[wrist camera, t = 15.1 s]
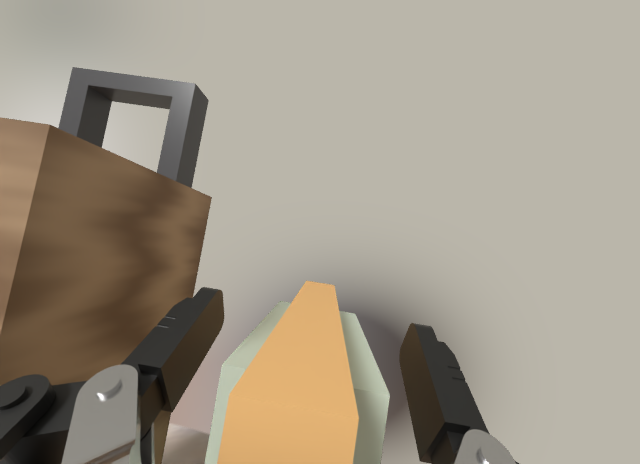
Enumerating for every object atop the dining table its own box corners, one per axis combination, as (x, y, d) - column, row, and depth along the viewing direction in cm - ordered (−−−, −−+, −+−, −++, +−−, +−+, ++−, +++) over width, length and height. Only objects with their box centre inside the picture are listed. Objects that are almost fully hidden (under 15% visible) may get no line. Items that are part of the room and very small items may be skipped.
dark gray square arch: (174, 185, 18) (195, 83, 18) (49, 166, 18) (72, 67, 18) (190, 192, 20) (208, 100, 20) (77, 175, 20) (97, 84, 20)
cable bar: (338, 561, 6) (358, 418, 6) (204, 533, 6) (229, 394, 7) (330, 313, 30) (334, 285, 30) (301, 309, 30) (306, 280, 31)
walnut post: (-225, 1284, 7) (49, 124, 9) (-606, 1147, 7) (-259, 80, 9) (132, 614, 18) (211, 197, 21) (-17, 580, 19) (75, 176, 21)
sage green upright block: (333, 817, 13) (389, 394, 14) (149, 770, 13) (222, 364, 15) (329, 486, 31) (355, 313, 32) (251, 471, 31) (280, 301, 33)
